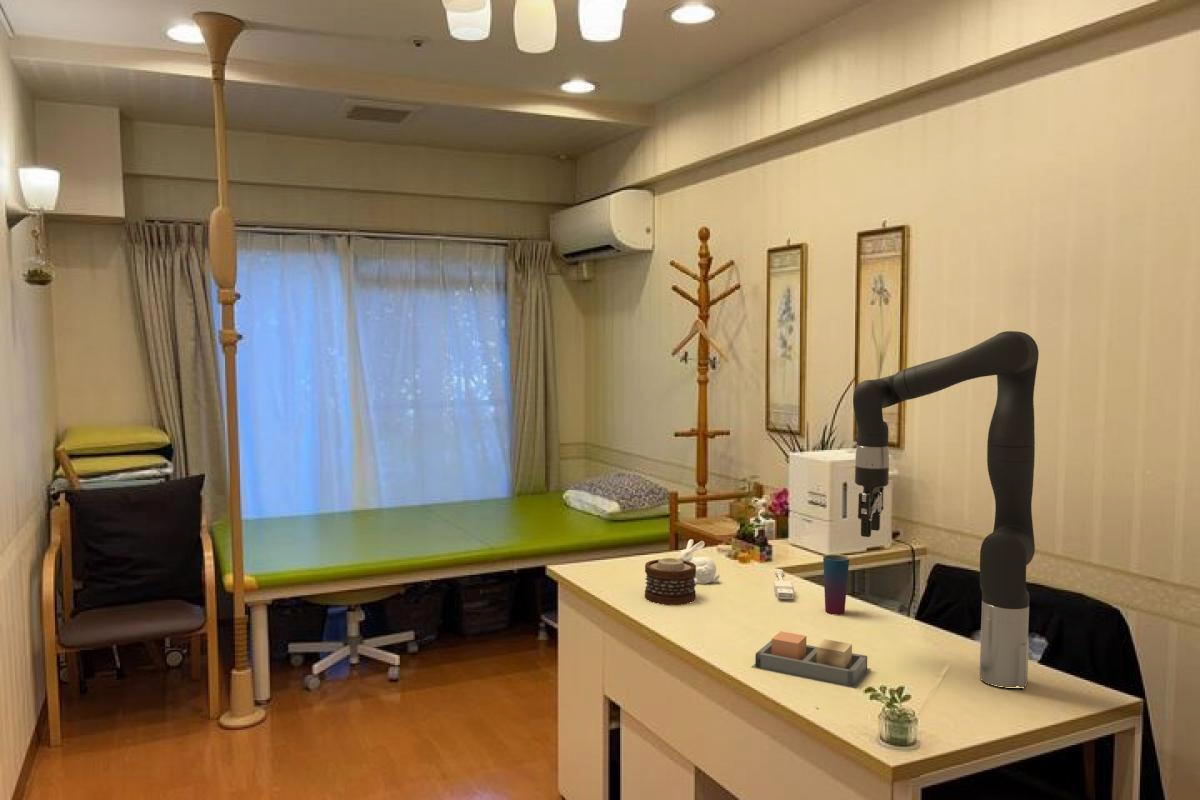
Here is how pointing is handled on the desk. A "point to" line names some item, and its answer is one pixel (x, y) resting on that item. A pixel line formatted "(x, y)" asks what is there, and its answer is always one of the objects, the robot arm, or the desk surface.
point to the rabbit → (700, 564)
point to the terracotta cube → (789, 645)
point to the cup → (835, 582)
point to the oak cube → (835, 654)
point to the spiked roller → (670, 581)
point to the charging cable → (783, 586)
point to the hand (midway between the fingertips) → (870, 533)
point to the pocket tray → (812, 667)
